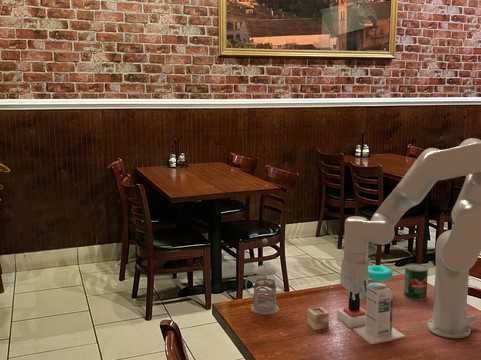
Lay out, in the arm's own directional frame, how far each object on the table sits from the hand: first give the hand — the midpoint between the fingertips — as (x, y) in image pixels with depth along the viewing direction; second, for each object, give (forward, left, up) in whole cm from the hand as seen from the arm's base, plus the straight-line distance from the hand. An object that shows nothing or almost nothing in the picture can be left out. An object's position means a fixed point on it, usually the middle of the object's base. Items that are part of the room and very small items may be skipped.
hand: (354, 309), depth 170 cm
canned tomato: (-32, -10, -4) cm, 34 cm away
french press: (+24, -20, -4) cm, 31 cm away
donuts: (-20, -16, -4) cm, 26 cm away
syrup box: (-2, +10, -4) cm, 11 cm away
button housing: (0, 0, -4) cm, 4 cm away
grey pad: (-2, +11, -4) cm, 11 cm away
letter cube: (+12, -1, -4) cm, 13 cm away
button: (0, 0, -3) cm, 3 cm away
